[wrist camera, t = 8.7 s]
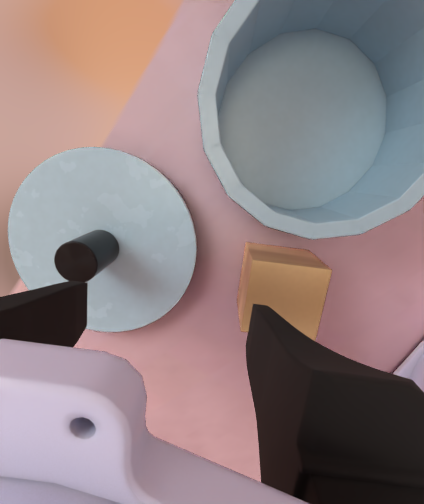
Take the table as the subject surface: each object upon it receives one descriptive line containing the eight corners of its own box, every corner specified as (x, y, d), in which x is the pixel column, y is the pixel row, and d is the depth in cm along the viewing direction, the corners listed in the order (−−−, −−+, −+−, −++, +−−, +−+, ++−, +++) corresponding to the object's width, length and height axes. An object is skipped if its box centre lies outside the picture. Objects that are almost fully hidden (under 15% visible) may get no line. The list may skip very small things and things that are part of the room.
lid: (173, 343, 22) (160, 386, 18) (10, 299, 22) (-46, 332, 17) (219, 179, 19) (219, 181, 14) (29, 124, 19) (-33, 107, 14)
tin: (350, 240, 20) (402, 266, 14) (185, 192, 19) (170, 199, 14) (429, 52, 17) (536, -11, 11) (237, -10, 16) (246, -109, 11)
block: (296, 308, 21) (315, 341, 17) (236, 300, 21) (240, 331, 17) (309, 249, 20) (332, 270, 16) (245, 241, 20) (252, 259, 16)
